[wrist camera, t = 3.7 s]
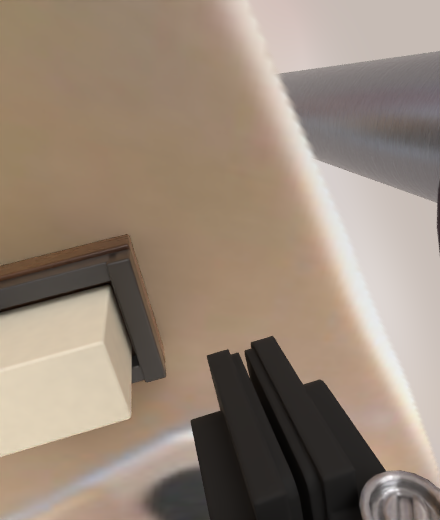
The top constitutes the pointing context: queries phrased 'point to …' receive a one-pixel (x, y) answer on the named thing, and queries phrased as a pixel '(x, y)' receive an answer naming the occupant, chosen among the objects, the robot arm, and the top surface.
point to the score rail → (87, 277)
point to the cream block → (62, 369)
